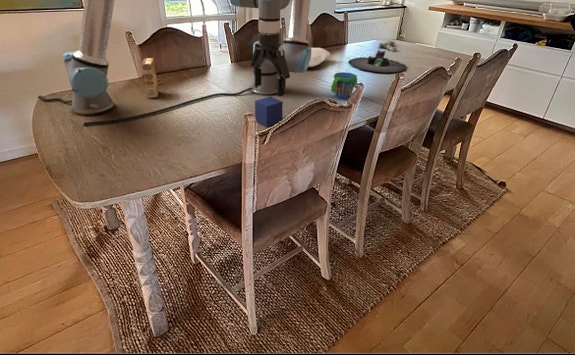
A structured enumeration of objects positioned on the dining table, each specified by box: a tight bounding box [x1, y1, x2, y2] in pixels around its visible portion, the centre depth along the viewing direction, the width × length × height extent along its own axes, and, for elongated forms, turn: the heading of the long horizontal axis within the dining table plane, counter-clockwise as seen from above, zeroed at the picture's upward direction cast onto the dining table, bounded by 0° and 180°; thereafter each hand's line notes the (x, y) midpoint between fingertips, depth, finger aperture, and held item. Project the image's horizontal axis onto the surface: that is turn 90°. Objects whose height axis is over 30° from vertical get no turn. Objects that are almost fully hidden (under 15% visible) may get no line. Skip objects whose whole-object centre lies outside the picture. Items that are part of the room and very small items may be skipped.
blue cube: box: [254, 95, 284, 128], centre depth 145 cm, size 8×7×8 cm
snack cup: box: [330, 71, 358, 100], centre depth 171 cm, size 16×10×10 cm
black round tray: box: [347, 49, 407, 74], centre depth 221 cm, size 35×35×9 cm
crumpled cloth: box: [308, 47, 331, 68], centre depth 217 cm, size 24×35×9 cm
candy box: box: [141, 57, 160, 99], centre depth 163 cm, size 9×4×15 cm, turn 13°
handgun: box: [378, 40, 398, 52], centre depth 263 cm, size 3×18×15 cm
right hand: (269, 90), depth 140 cm, fingers open, 13 cm apart
